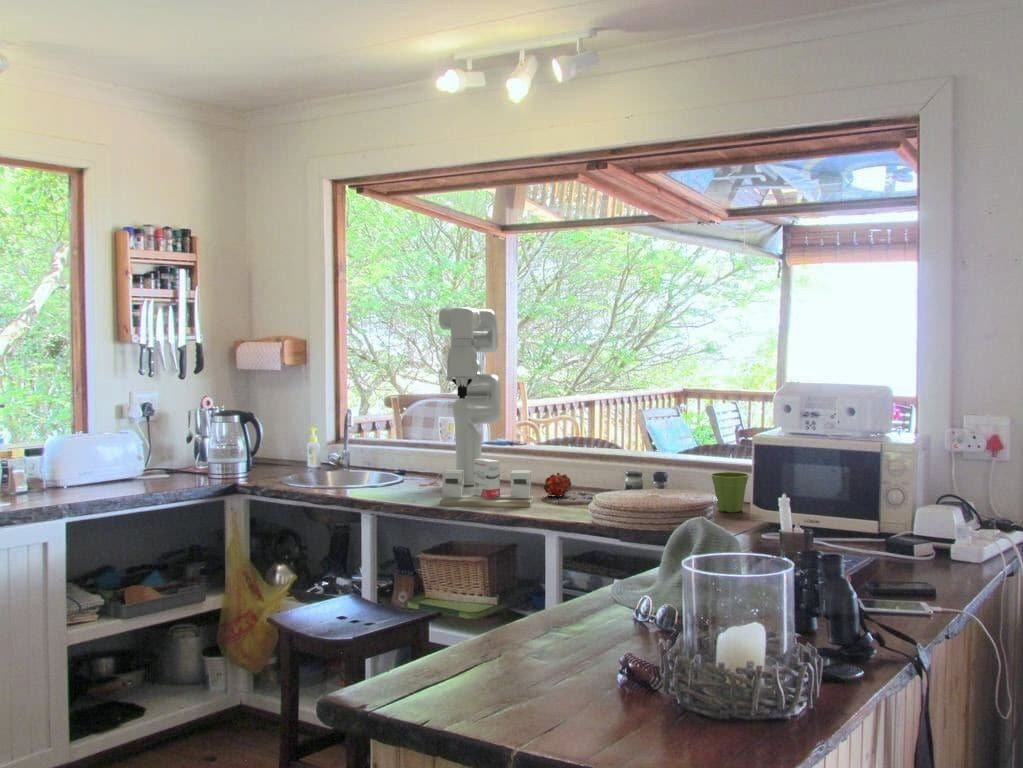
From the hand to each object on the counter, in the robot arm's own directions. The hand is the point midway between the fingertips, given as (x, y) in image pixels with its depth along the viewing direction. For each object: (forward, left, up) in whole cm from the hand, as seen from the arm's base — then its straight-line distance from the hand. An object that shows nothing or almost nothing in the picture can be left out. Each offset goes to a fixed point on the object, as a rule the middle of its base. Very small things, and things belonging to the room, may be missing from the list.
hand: (462, 398), depth 326 cm
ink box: (+15, +10, -31) cm, 36 cm away
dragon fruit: (0, +32, -33) cm, 46 cm away
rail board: (+15, +10, -33) cm, 38 cm away
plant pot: (+24, +86, -33) cm, 95 cm away
